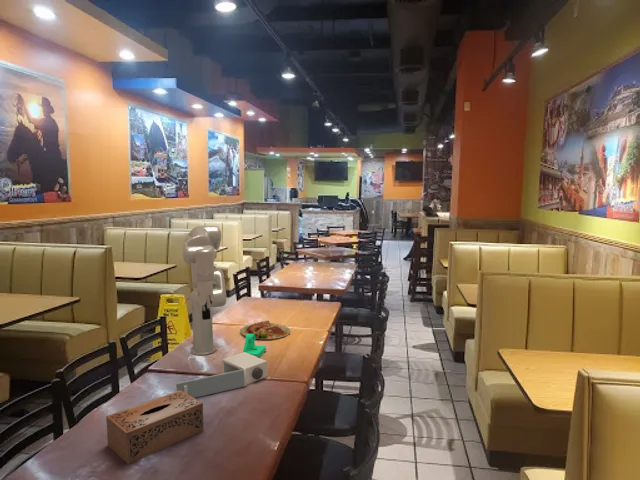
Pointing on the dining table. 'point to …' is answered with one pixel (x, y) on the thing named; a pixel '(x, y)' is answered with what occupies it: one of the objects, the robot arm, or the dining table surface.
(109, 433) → the tissue box cover
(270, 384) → the dining table surface
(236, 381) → the side door
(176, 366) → the dining table surface
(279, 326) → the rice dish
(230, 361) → the block
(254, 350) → the camera mount
